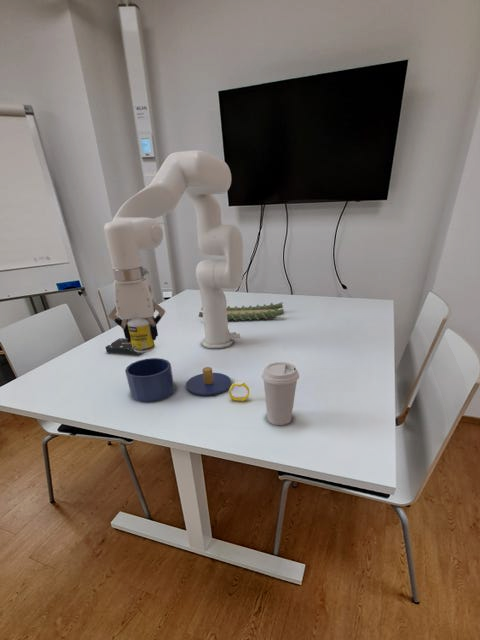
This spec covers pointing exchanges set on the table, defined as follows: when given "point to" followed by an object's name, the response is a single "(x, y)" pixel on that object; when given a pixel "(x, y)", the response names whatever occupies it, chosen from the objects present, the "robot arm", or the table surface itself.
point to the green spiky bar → (253, 312)
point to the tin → (150, 379)
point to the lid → (208, 383)
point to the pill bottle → (140, 333)
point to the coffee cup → (280, 391)
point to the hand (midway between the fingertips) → (142, 339)
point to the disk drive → (121, 347)
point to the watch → (238, 383)
